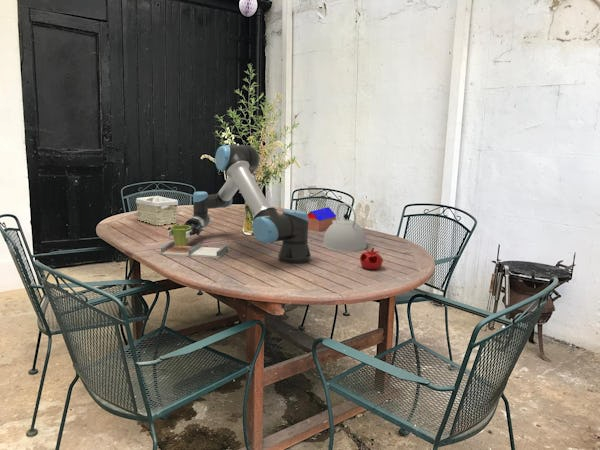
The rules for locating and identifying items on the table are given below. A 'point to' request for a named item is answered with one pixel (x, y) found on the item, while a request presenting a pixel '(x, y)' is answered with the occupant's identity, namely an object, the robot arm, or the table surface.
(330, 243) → the kettle
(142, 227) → the table surface
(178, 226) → the plant pot
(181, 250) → the slot board
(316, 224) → the house
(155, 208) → the storage basket
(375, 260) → the pomegranate
